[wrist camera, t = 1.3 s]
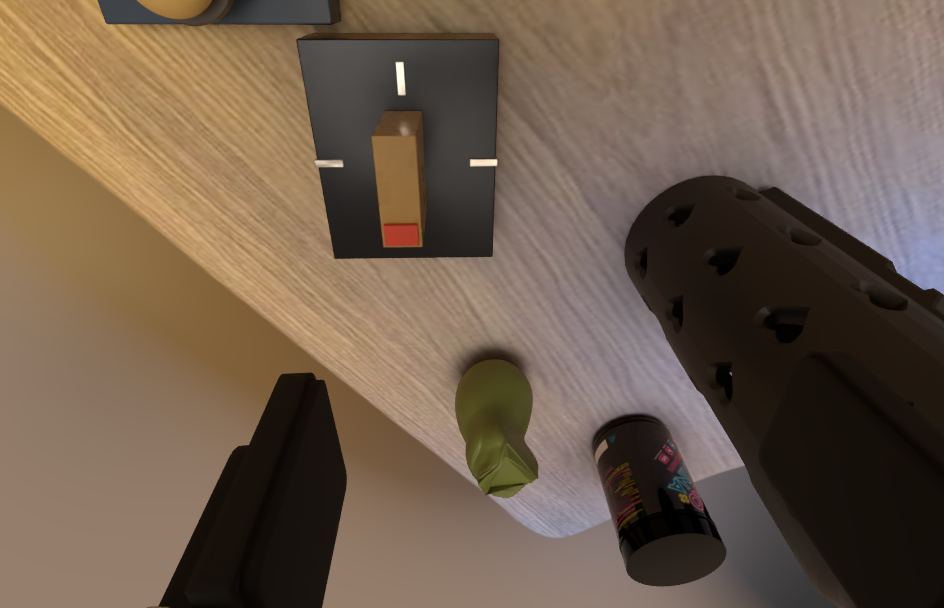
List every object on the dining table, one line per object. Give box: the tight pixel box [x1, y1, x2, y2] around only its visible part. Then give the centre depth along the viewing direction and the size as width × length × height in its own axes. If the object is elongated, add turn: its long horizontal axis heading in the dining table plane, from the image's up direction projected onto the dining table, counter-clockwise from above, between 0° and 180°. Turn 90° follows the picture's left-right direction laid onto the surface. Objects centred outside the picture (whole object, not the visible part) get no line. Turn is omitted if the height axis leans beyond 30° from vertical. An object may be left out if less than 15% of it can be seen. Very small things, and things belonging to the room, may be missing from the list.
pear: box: [455, 359, 538, 498], centre depth 32 cm, size 6×5×10 cm
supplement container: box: [593, 417, 726, 586], centre depth 37 cm, size 7×7×10 cm
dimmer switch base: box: [297, 33, 499, 259], centre depth 26 cm, size 11×9×3 cm
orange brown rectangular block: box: [371, 111, 427, 247], centre depth 22 cm, size 5×2×5 cm, turn 0°
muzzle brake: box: [625, 176, 944, 608], centre depth 19 cm, size 10×28×10 cm
